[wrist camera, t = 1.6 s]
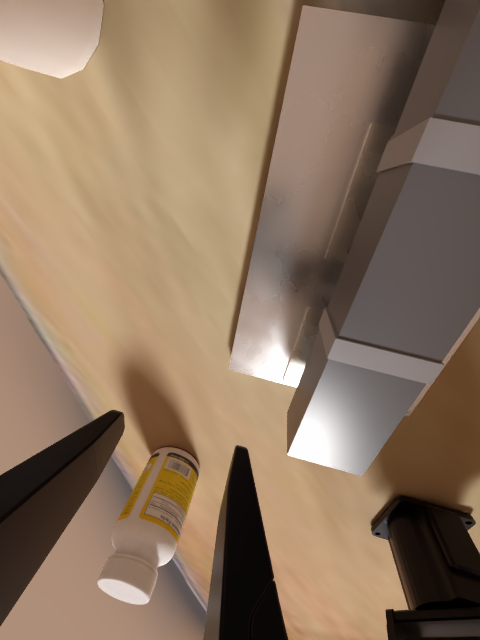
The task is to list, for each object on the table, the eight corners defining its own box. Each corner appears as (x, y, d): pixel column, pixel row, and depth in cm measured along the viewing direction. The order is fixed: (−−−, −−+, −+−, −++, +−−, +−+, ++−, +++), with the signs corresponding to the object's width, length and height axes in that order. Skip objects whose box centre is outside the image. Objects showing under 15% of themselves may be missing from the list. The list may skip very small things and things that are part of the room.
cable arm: (341, 393, 19) (365, 482, 13) (286, 379, 19) (285, 459, 13) (589, -102, 8) (1312, -827, 2) (459, -116, 9) (825, -792, 3)
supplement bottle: (162, 477, 28) (105, 602, 19) (145, 444, 26) (73, 567, 17) (206, 480, 27) (167, 615, 18) (193, 445, 25) (141, 579, 16)
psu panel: (401, 404, 18) (410, 420, 17) (231, 360, 19) (227, 371, 18) (623, 73, 10) (675, 54, 9) (301, 24, 11) (303, -1, 9)
